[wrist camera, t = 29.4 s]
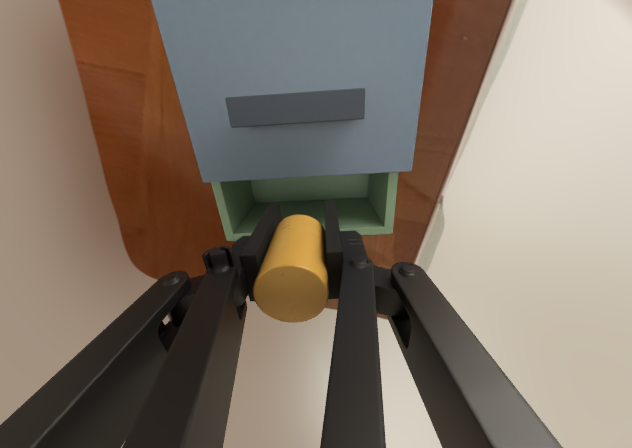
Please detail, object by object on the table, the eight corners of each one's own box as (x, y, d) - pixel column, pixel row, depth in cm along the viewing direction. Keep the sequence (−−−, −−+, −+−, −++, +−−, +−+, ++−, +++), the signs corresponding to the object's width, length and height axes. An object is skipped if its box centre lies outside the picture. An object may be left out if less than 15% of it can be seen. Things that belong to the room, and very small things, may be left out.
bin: (251, 207, 29) (226, 241, 22) (224, 73, 23) (175, 52, 15) (372, 201, 29) (392, 233, 21) (380, 61, 22) (412, 33, 14)
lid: (207, 180, 19) (182, 195, 16) (128, -107, 12) (52, -193, 9) (408, 169, 18) (428, 182, 15) (445, -142, 11) (498, -250, 8)
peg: (288, 265, 15) (274, 330, 10) (265, 225, 14) (237, 280, 9) (333, 249, 14) (339, 311, 10) (313, 206, 13) (309, 254, 9)
